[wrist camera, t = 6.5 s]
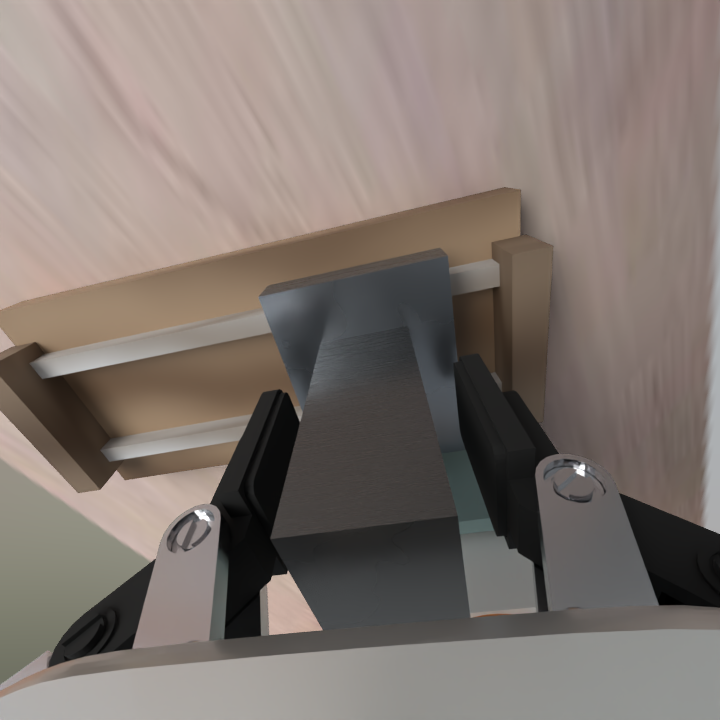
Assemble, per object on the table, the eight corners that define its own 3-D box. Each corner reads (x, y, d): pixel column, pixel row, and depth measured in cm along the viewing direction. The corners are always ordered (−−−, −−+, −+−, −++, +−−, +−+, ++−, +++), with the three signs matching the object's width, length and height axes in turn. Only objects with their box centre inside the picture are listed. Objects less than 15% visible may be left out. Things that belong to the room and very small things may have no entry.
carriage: (267, 285, 12) (118, 466, 5) (439, 247, 11) (573, 392, 4) (328, 450, 16) (296, 687, 9) (458, 430, 15) (543, 670, 8)
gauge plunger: (407, 494, 16) (427, 653, 11) (508, 480, 15) (581, 642, 10) (417, 539, 18) (439, 696, 12) (508, 528, 17) (570, 687, 12)
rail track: (18, 302, 15) (-69, 336, 12) (510, 185, 13) (556, 192, 10) (137, 460, 20) (96, 512, 17) (511, 399, 17) (541, 448, 14)
